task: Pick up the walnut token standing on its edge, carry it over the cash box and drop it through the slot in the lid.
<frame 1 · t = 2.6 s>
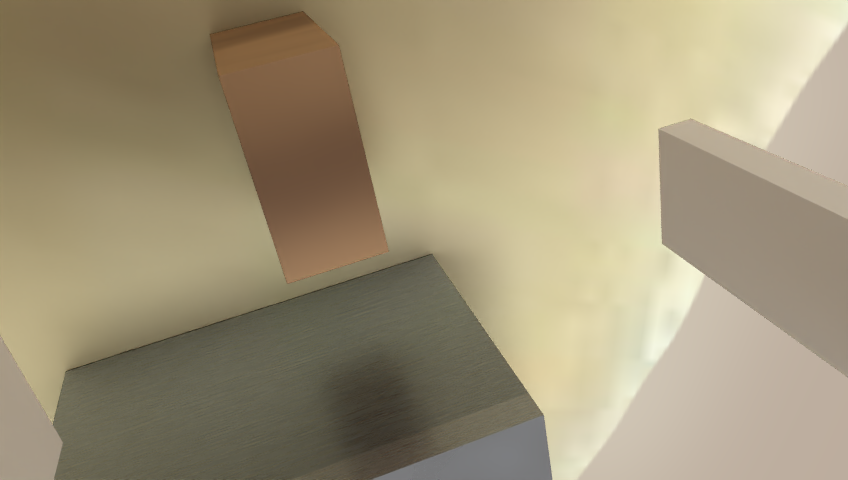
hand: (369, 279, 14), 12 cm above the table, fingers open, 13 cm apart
token: (283, 112, 24), on the table
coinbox: (318, 477, 31), on the table
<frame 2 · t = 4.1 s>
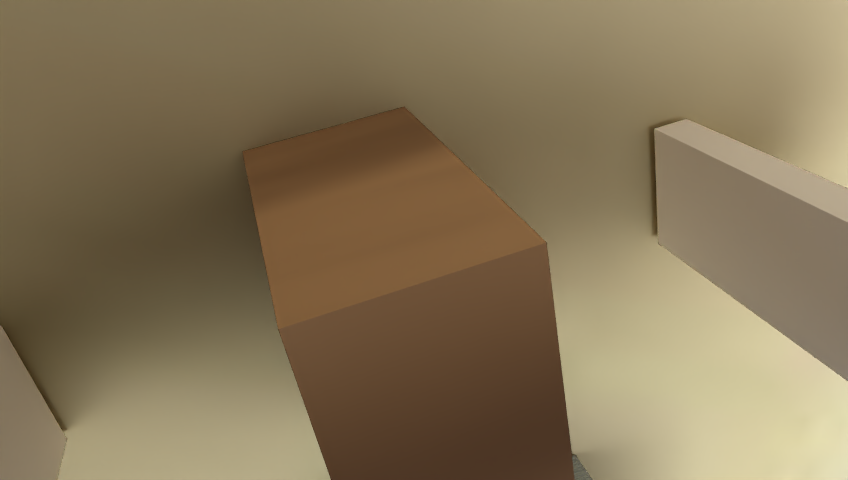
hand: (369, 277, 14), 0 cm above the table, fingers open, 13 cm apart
token: (362, 269, 14), on the table
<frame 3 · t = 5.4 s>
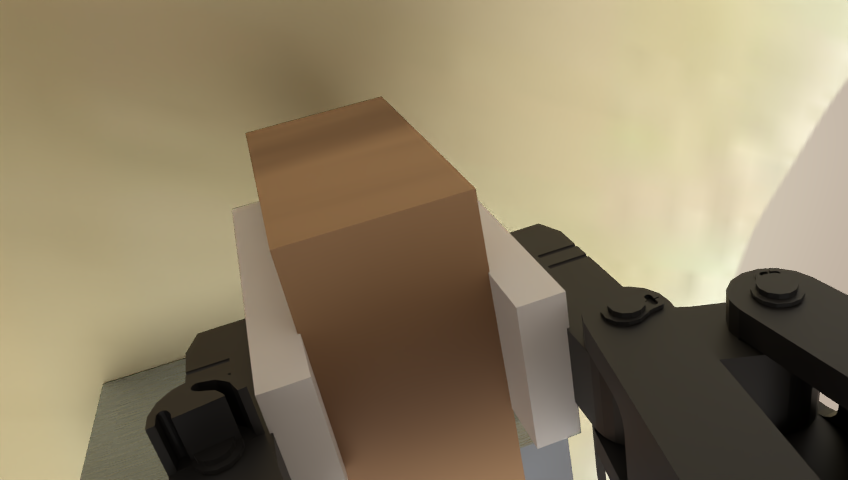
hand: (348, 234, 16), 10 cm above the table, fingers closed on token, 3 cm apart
token: (347, 236, 16), point 9 cm above the table, touching gripper
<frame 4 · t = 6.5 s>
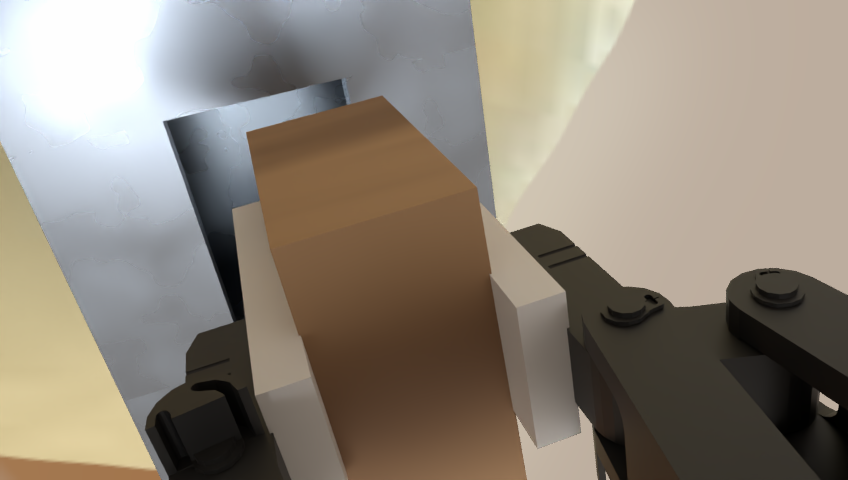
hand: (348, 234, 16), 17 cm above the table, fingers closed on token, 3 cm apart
token: (348, 236, 16), point 17 cm above the table, touching gripper
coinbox: (263, 138, 32), on the table
when the fingers open (11 cm above the table, at t = 7.8 s): token drops 10 cm, resting on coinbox.
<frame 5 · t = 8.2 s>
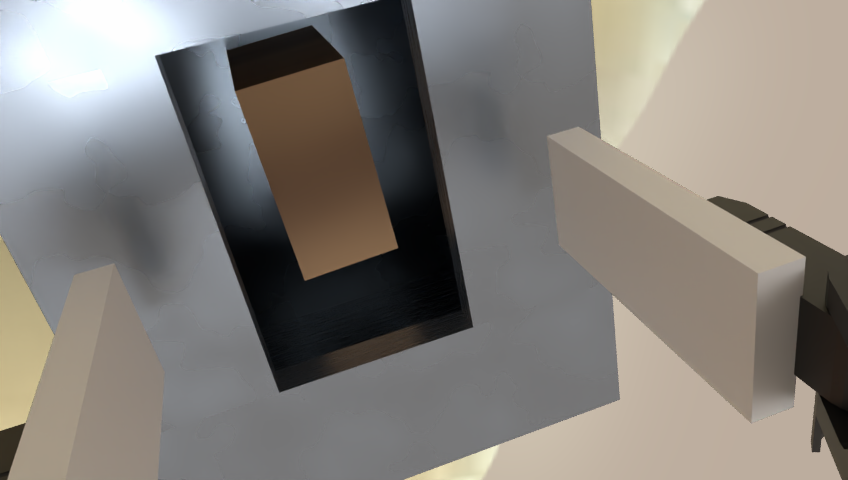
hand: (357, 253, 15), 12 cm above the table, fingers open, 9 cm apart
token: (297, 120, 25), point 1 cm above the table, touching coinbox
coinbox: (289, 108, 26), on the table
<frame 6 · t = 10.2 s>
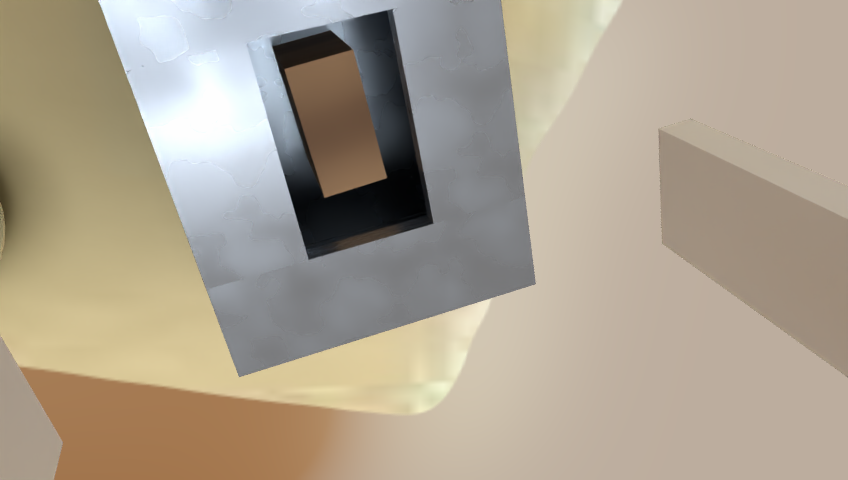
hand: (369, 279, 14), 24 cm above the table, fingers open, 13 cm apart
token: (318, 96, 36), point 1 cm above the table, touching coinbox
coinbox: (313, 88, 36), on the table
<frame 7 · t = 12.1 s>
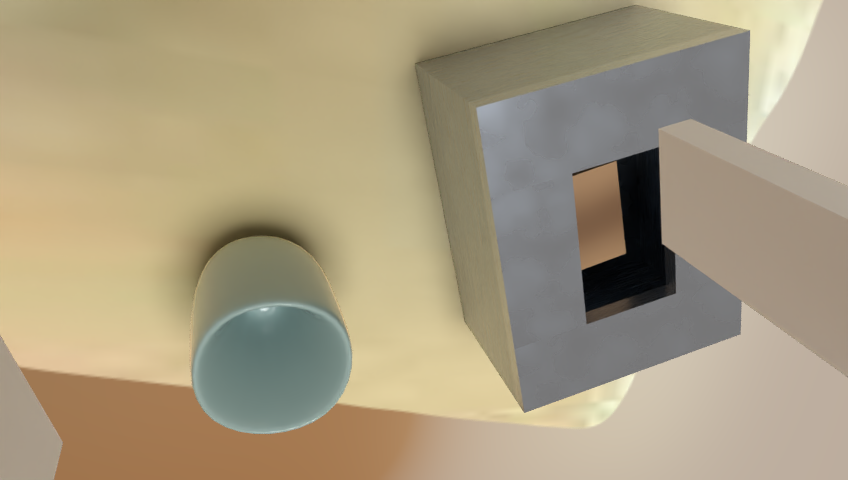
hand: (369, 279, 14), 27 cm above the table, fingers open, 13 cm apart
cup: (258, 274, 43), on the table
token: (550, 181, 45), point 1 cm above the table, touching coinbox
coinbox: (544, 174, 45), on the table
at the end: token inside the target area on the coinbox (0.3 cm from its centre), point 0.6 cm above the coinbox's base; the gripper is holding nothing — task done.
